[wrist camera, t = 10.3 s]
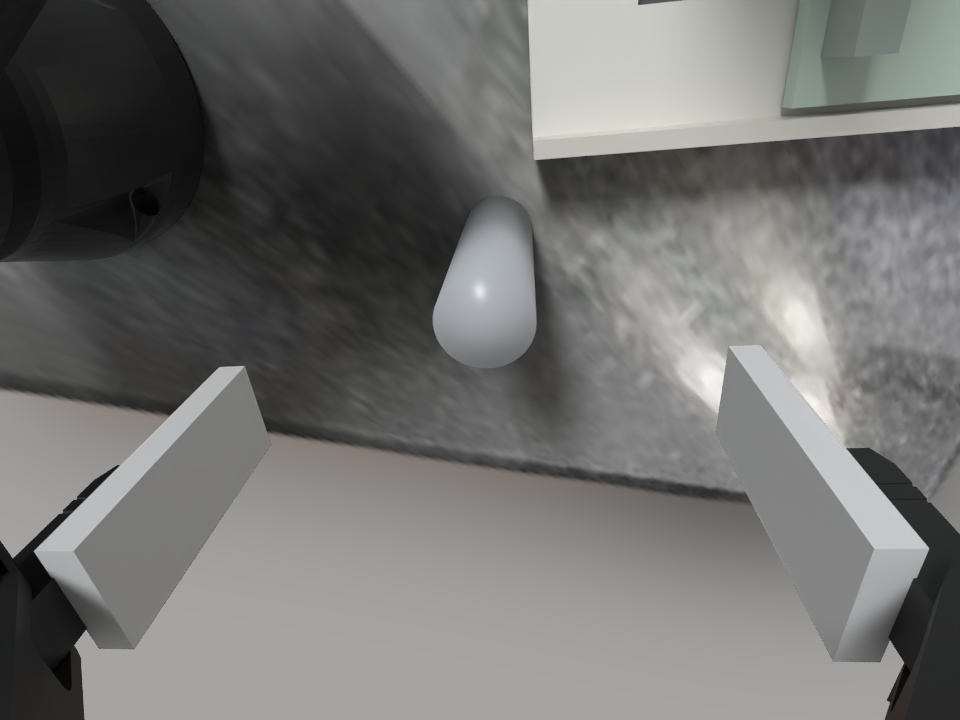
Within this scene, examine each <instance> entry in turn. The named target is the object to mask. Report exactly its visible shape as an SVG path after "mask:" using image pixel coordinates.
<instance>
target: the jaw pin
mask: <svg viewBox="0 0 960 720" xmlns="http://www.w3.org/2000/svg"><path fill="white" fill-rule="evenodd" d="M536 324H537V319H536V299H535V280H534V260H533V240H532V225H531V220H530V217H529V215H528V213H527V211H526V210H525V209H524V208H523V206H522V205H520V204H519V203H518V202H516V201H515V200H513V199H510V198H507V197H502V196H495V197H490V198H487V199H484V200H482V201H481V202H479V203H478V204H477V205H475V207H474V208H473V209H472V210H471V211H470V213H469V215H468V218H467V220H466V223H465V226H464V228H463V231H462V234H461V237H460V239H459V242H458V245H457V248H456V250H455V253H454V256H453V258H452V261H451V264H450V267H449V269H448V272H447V275H446V278H445V280H444V283H443V286H442V288H441V291H440V294H439V297H438V299H437V302H436V305H435V308H434V312H433V328H434V332H435V335H436V338H437V340H438V342H439V344H440V345H441V346H442V348H443V349H444V350H445V351H446V352H447V353H448V354H449V355H450V356H451V357H452V358H454V359H455V360H457V361H458V362H460V363H462V364H465V365H467V366H470V367H474V368H481V369H491V368H498V367H502V366H505V365H507V364H510V363H512V362H513V361H515V360H517V359H518V358H519V357H520V356H522V355H523V354H524V353H525V352H526V350H527V349H528V348H529V346H530V345H531V343H532V341H533V339H534V336H535V332H536Z"/></svg>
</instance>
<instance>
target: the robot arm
mask: <svg viewBox="0 0 960 720" xmlns="http://www.w3.org/2000/svg"><path fill="white" fill-rule="evenodd" d="M202 162H203V127H202V120H201V113H200V109H199V104H198V100H197V96H196V92H195V89H194V86H193V83H192V80H191V77H190V75H189V72H188V70H187V67H186V65H185V63H184V61H183V58H182V56H181V54H180V52H179V50H178V48H177V46H176V45H175V43H174V41H173V39H172V37H171V36H170V34H169V32H168V31H167V29H166V28H165V26H164V24H163V23H162V22H161V20H160V19H159V17H158V16H157V14H156V13H155V12H154V10H153V9H152V8H151V6H150V5H149V4H148V3H147V1H146V0H0V262H23V261H70V260H94V259H101V258H106V257H110V256H114V255H118V254H121V253H124V252H126V251H129V250H131V249H133V248H135V247H137V246H140V245H142V244H144V243H146V242H148V241H150V240H152V239H154V238H156V237H158V236H159V235H161V234H162V233H164V232H165V231H167V230H168V229H169V228H170V227H171V226H172V225H174V224H175V223H176V222H177V221H178V219H179V218H180V217H181V216H182V215H183V213H184V212H185V210H186V209H187V207H188V206H189V204H190V202H191V200H192V198H193V196H194V193H195V191H196V188H197V185H198V182H199V178H200V174H201V169H202ZM716 435H717V437H718V439H719V441H720V443H721V445H722V447H723V449H724V451H725V453H726V454H727V456H728V458H729V460H730V462H731V464H732V466H733V468H734V470H735V472H736V474H737V476H738V478H739V480H740V482H741V484H742V486H743V488H744V489H745V491H746V493H747V495H748V497H749V499H750V501H751V503H752V505H753V507H754V509H755V511H756V513H757V514H758V517H759V519H760V521H761V522H762V524H763V526H764V528H765V530H766V532H767V534H768V536H769V538H770V540H771V542H772V544H773V546H774V548H775V550H776V551H777V554H778V555H779V557H780V559H781V561H782V563H783V565H784V567H785V569H786V571H787V573H788V575H789V577H790V579H791V581H792V582H793V585H794V586H795V588H796V590H797V592H798V594H799V596H800V598H801V600H802V602H803V604H804V606H805V608H806V610H807V612H808V614H809V616H810V618H811V620H812V621H813V623H814V625H815V627H816V629H817V631H818V633H819V635H820V637H821V639H822V641H823V643H824V645H825V647H826V649H827V651H828V653H829V655H830V656H831V658H832V660H833V661H837V662H839V661H840V662H881V659H882V657H883V654H884V652H885V650H886V648H887V645H888V643H889V641H891V642H892V644H893V645H894V647H895V649H896V650H897V652H898V653H899V655H900V656H901V658H902V659H903V661H904V665H903V667H902V669H901V672H900V673H899V675H898V677H897V680H896V682H895V684H894V686H893V688H892V691H891V693H890V695H889V697H888V699H887V701H889V702H890V705H889V708H888V711H887V714H886V717H885V720H960V534H959V533H958V532H957V531H956V530H955V529H954V528H953V527H952V525H951V524H950V523H949V522H948V521H947V520H946V519H945V518H944V517H943V516H942V515H941V513H939V511H938V510H937V509H936V508H935V507H934V506H933V505H932V504H931V503H928V502H927V498H926V497H925V496H924V495H923V494H922V493H921V492H920V491H919V490H918V489H917V487H913V486H912V482H911V481H910V480H909V479H908V478H907V477H906V476H905V474H904V473H903V472H902V471H901V470H900V469H899V468H898V467H897V466H896V465H895V464H894V463H892V462H891V461H889V460H888V459H886V458H884V457H883V456H881V455H880V454H878V453H876V452H875V451H873V450H872V449H870V448H845V447H844V445H843V444H842V443H841V442H840V441H839V439H838V438H837V437H836V436H835V435H834V433H833V432H832V431H831V430H830V429H829V427H828V426H827V425H826V424H825V423H824V421H823V420H822V419H821V418H820V417H819V415H818V414H817V413H816V412H815V411H814V409H813V408H812V407H811V406H810V405H809V403H808V402H807V401H806V400H805V399H804V397H803V396H802V395H801V394H800V393H799V391H798V390H797V389H796V388H795V387H794V385H793V384H792V383H791V382H790V381H789V379H788V378H787V377H786V376H785V375H784V373H783V372H782V371H781V370H780V369H779V367H778V366H777V365H776V364H775V363H774V361H773V360H772V359H771V358H770V357H769V355H768V354H767V353H766V352H765V351H764V349H763V348H762V347H761V346H760V345H747V346H729V347H728V354H727V360H726V367H725V374H724V380H723V387H722V394H721V401H720V407H719V414H718V421H717V427H716ZM270 445H271V443H270V440H269V437H268V434H267V431H266V428H265V425H264V422H263V419H262V416H261V413H260V410H259V407H258V404H257V401H256V398H255V395H254V392H253V389H252V386H251V383H250V380H249V377H248V374H247V371H246V368H245V366H233V367H219V368H218V369H217V370H216V371H215V372H214V373H213V374H212V375H211V376H210V377H209V378H208V379H207V380H206V381H205V382H204V383H203V384H202V385H201V386H200V387H199V388H198V389H197V390H196V391H195V392H194V393H193V394H192V395H191V396H190V397H189V398H188V399H187V400H186V401H185V402H184V403H183V404H182V405H181V406H180V407H179V408H178V409H177V410H176V411H175V412H174V413H172V414H171V415H170V416H169V417H168V418H167V419H166V420H165V421H164V422H163V423H162V424H161V425H160V427H158V428H157V429H156V430H155V431H154V432H153V434H152V435H150V436H149V438H147V439H146V440H145V441H144V442H143V443H142V444H141V445H140V446H139V447H138V448H137V449H136V450H135V452H133V453H132V454H131V455H130V456H129V457H128V458H127V459H126V460H125V461H124V462H123V463H122V464H121V465H117V466H116V467H114V468H112V469H111V470H109V471H108V472H106V473H105V474H103V475H101V476H100V477H98V478H97V479H95V480H94V481H93V482H92V483H91V484H90V485H89V486H88V487H87V488H86V489H85V490H84V491H83V492H81V493H80V495H79V496H77V500H73V501H72V502H71V503H70V504H69V505H68V506H67V507H66V508H65V509H64V510H63V514H59V515H58V516H57V517H56V518H55V519H54V520H53V521H51V522H50V523H49V525H47V526H46V527H45V528H44V530H42V531H41V532H40V533H39V534H38V535H37V536H36V537H35V538H34V539H33V540H32V541H31V542H30V543H29V544H28V545H27V546H26V547H25V548H24V549H22V550H21V552H19V553H18V554H17V555H16V556H15V557H14V558H12V557H11V555H10V554H9V553H8V551H7V550H6V548H5V547H4V546H3V544H2V543H1V541H0V720H84V708H83V707H84V706H83V689H82V672H81V657H80V655H79V653H78V651H77V649H76V648H75V646H74V644H75V643H76V642H77V641H78V639H79V638H80V637H81V635H82V634H83V633H84V632H85V630H87V631H88V633H89V634H90V636H91V637H92V639H93V640H94V642H95V643H96V645H97V646H98V648H99V649H101V648H102V649H135V647H136V646H137V644H138V643H139V641H140V639H141V638H142V637H143V635H144V634H145V632H146V631H147V629H148V628H149V626H150V625H151V623H152V622H153V620H154V619H155V617H156V616H157V614H158V613H159V611H160V610H161V608H162V607H163V605H164V604H165V602H166V601H167V599H168V598H169V596H170V595H171V593H172V592H173V590H174V589H175V587H176V586H177V584H178V583H179V581H180V580H181V578H182V577H183V575H184V574H185V572H186V571H187V569H188V568H189V566H190V565H191V563H192V562H193V560H194V559H195V557H196V556H197V554H198V553H199V551H200V549H201V548H202V547H203V545H204V544H205V542H206V541H207V539H208V538H209V536H210V535H211V533H212V532H213V530H214V529H215V527H216V526H217V524H218V523H219V521H220V520H221V518H222V517H223V515H224V514H225V512H226V511H227V509H228V508H229V506H230V505H231V503H232V502H233V500H234V499H235V497H236V496H237V495H238V493H239V491H240V490H241V489H242V487H243V486H244V484H245V483H246V481H247V479H248V478H249V476H250V475H251V473H252V472H253V471H254V469H255V468H256V466H257V464H258V463H259V461H260V460H261V459H262V457H263V455H264V454H265V453H266V451H267V449H268V448H269V446H270Z"/></svg>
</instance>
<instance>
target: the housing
mask: <svg viewBox="0 0 960 720" xmlns="http://www.w3.org/2000/svg"><path fill="white" fill-rule="evenodd" d="M799 1H800V0H527V6H528V34H529V61H530V88H531V116H532V143H533V156H534V160H541V159H554V158H567V157H579V156H592V155H605V154H617V153H630V152H643V151H655V150H668V149H681V148H693V147H706V146H719V145H731V144H744V143H757V142H769V141H782V140H795V139H807V138H820V137H833V136H845V135H858V134H871V133H883V132H896V131H909V130H921V129H934V128H947V127H959V126H960V94H959V95H947V96H935V97H923V98H912V99H900V100H888V101H876V102H864V103H852V104H841V105H829V106H817V107H805V108H793V109H792V108H786V107H782V104H783V98H784V92H785V86H786V80H787V74H788V68H789V62H790V56H791V50H792V44H793V38H794V31H795V25H796V19H797V13H798V7H799Z"/></svg>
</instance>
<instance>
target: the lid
mask: <svg viewBox="0 0 960 720" xmlns="http://www.w3.org/2000/svg"><path fill="white" fill-rule="evenodd" d="M959 94H960V0H800V1H799V7H798V13H797V19H796V25H795V31H794V38H793V44H792V50H791V56H790V62H789V68H788V74H787V80H786V86H785V92H784V98H783V104H782V107H786V108H792V109H793V108H805V107H817V106H829V105H841V104H852V103H864V102H876V101H888V100H900V99H912V98H923V97H935V96H947V95H959Z"/></svg>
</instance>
